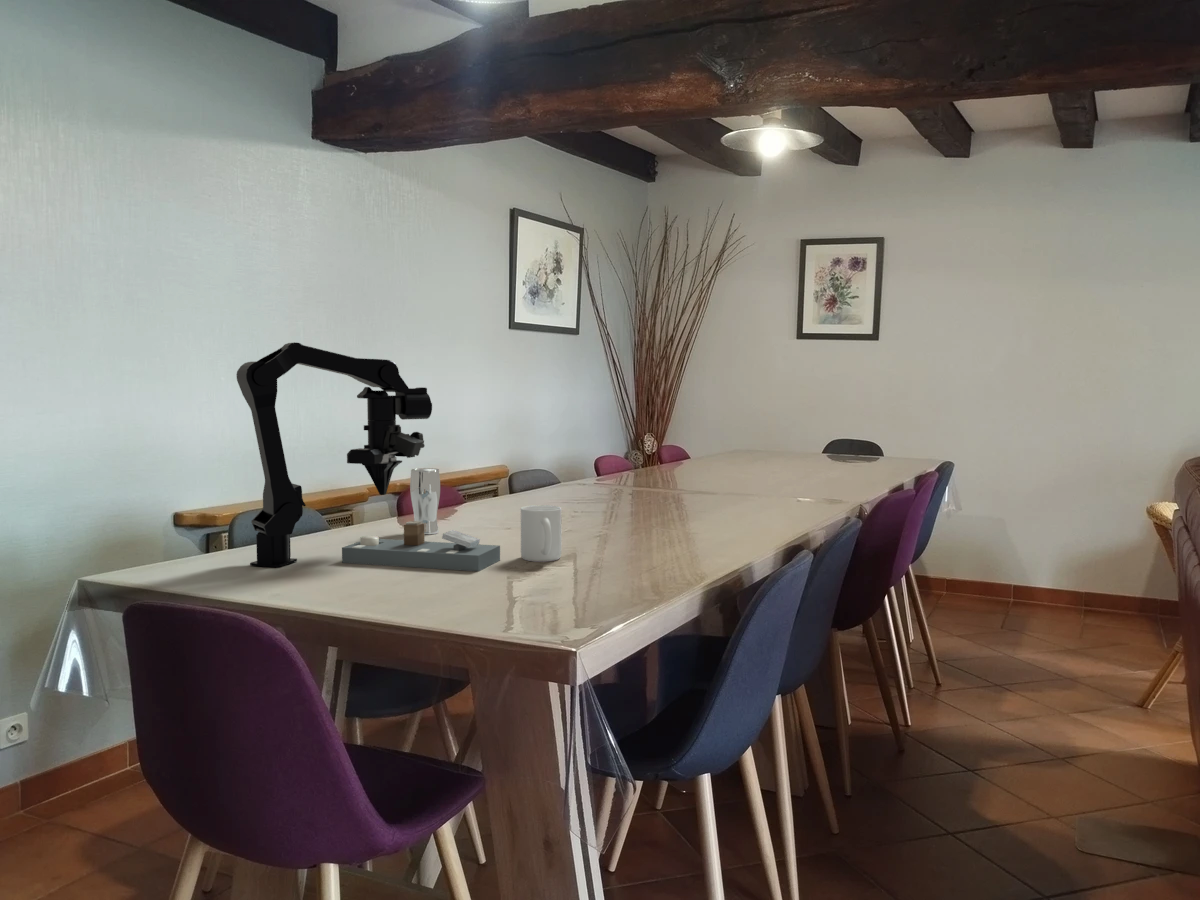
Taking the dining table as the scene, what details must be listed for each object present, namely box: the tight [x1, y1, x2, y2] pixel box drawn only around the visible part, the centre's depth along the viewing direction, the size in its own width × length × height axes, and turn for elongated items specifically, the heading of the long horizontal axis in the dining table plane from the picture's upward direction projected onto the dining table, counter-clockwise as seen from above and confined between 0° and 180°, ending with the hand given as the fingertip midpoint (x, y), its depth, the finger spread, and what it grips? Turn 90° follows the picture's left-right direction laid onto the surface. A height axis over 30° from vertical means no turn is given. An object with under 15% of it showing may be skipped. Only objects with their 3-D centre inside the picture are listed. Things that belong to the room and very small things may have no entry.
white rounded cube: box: [359, 535, 380, 546], centre depth 186 cm, size 4×4×4 cm
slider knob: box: [403, 520, 425, 545], centre depth 185 cm, size 3×3×4 cm
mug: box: [520, 504, 563, 563], centre depth 185 cm, size 12×8×10 cm
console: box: [341, 538, 501, 572], centre depth 183 cm, size 11×29×4 cm, turn 75°
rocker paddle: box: [441, 529, 481, 548], centre depth 180 cm, size 5×6×1 cm
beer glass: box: [409, 467, 441, 536], centre depth 216 cm, size 7×7×15 cm
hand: (382, 494), depth 192 cm, fingers closed
